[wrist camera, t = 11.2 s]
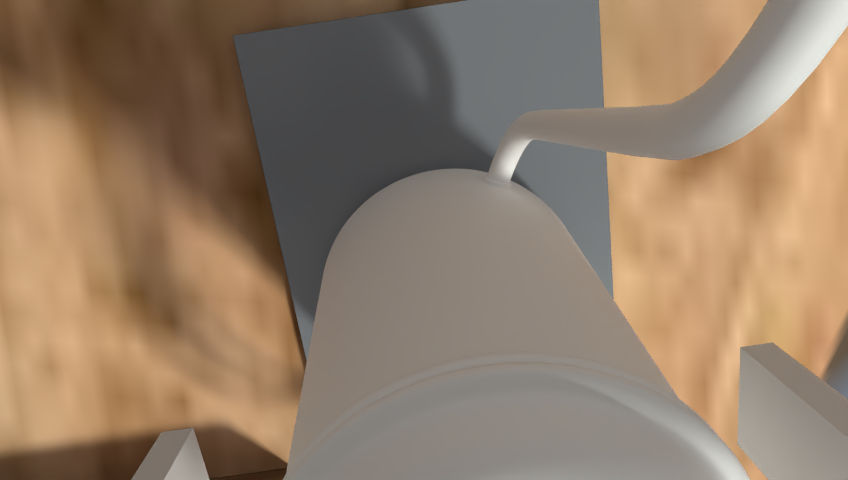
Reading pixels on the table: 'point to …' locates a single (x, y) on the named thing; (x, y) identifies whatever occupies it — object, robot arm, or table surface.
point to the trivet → (420, 116)
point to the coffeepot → (521, 305)
